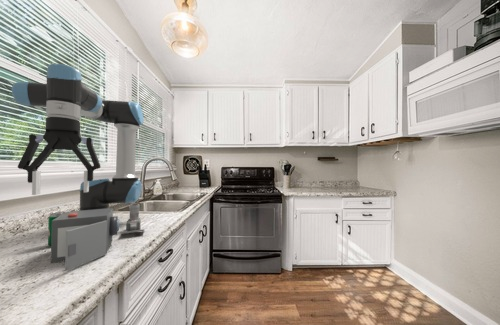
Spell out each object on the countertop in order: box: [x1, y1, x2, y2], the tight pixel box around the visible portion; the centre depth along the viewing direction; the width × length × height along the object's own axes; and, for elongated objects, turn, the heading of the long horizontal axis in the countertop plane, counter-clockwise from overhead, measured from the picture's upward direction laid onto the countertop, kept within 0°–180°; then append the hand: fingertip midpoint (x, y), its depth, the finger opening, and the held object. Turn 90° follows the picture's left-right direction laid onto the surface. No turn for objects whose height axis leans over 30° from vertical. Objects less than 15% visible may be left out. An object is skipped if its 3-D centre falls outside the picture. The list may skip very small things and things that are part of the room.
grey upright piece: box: [120, 203, 145, 235], centre depth 90 cm, size 9×12×15 cm
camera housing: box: [50, 207, 120, 264], centre depth 71 cm, size 14×16×14 cm
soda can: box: [47, 211, 67, 247], centre depth 76 cm, size 5×5×12 cm
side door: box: [64, 220, 108, 271], centre depth 61 cm, size 2×12×11 cm, turn 163°
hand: (62, 193), depth 59 cm, fingers open, 10 cm apart
